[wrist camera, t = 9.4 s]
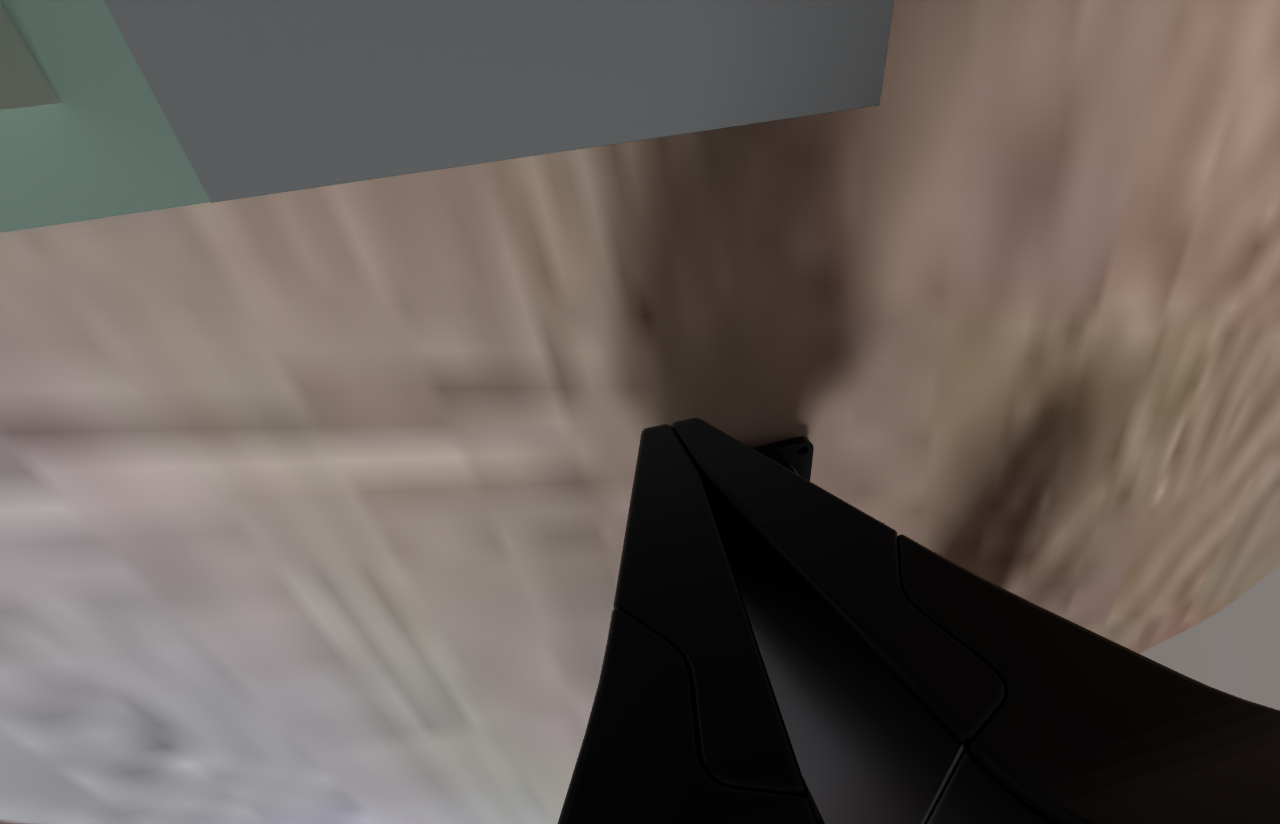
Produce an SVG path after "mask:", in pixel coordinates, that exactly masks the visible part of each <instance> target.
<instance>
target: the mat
mask: <svg viewBox="0 0 1280 824" xmlns="http://www.w3.org/2000/svg"><path fill="white" fill-rule="evenodd" d="M0 3H1V5H2V7H3V8H4V10H5V12H6V13H7V15H8V16H9V18H10V20H11V21H12V23H13V25H14V26H15V28H16V29H17V31H18V33H19V34H20V36H21V38H22V39H23V41H24V43H25V44H26V46H27V47H28V49H29V51H30V52H31V54H32V56H33V57H34V59H35V60H36V62H37V64H38V65H39V67H40V69H41V70H42V72H43V74H44V75H45V77H46V78H47V80H48V82H49V83H50V85H51V87H52V88H53V90H54V91H55V93H56V95H57V96H58V98H59V100H60V101H61V103H57V104H48V105H39V106H30V107H22V108H13V109H4V110H0V232H7V231H14V230H21V229H28V228H35V227H41V226H48V225H55V224H62V223H69V222H76V221H83V220H90V219H96V218H103V217H110V216H117V215H124V214H131V213H138V212H145V211H151V210H158V209H165V208H172V207H179V206H186V205H193V204H200V203H206V202H210V200H209V198H208V196H207V194H206V192H205V190H204V188H203V186H202V185H201V183H200V181H199V179H198V177H197V175H196V173H195V171H194V170H193V168H192V166H191V164H190V162H189V160H188V158H187V156H186V154H185V153H184V151H183V149H182V147H181V145H180V143H179V141H178V139H177V137H176V136H175V134H174V132H173V130H172V128H171V126H170V124H169V122H168V120H167V119H166V117H165V115H164V113H163V111H162V109H161V107H160V105H159V103H158V102H157V100H156V98H155V96H154V94H153V92H152V90H151V88H150V87H149V85H148V83H147V81H146V79H145V77H144V75H143V73H142V71H141V70H140V68H139V66H138V64H137V62H136V60H135V58H134V56H133V54H132V53H131V51H130V49H129V47H128V45H127V43H126V41H125V39H124V37H123V36H122V34H121V32H120V30H119V28H118V26H117V24H116V22H115V20H114V19H113V17H112V15H111V13H110V11H109V9H108V7H107V5H106V3H105V2H104V0H0Z"/></svg>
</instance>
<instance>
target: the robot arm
mask: <svg viewBox="0 0 1280 824" xmlns="http://www.w3.org/2000/svg"><path fill="white" fill-rule="evenodd" d="M803 446H804V447H803ZM801 447H803V448H802V449H800V448H801ZM799 449H800V450H799ZM812 457H813V445H812V443H811V442H810V441H809V440H808V439H807V438H806V437H798V438H794V439H789V440H785V441H781V442H776V443H772V444H768V445H763V446H759V447H754V448H750V447H748V446H747V445H745V444H743V443H741V442H740V441H738V440H736V439H734V438H733V437H731V436H729V435H727V434H726V433H724V432H722V431H720V430H719V429H717V428H715V427H713V426H712V425H710V424H708V423H706V422H705V421H703V420H701V419H699V418H692V419H687V420H683V421H678V422H674V423H673V424H672V425H671V426H670V425H667V424H664V425H660V426H655V427H650V428H646V429H644V430H643V431H642V434H641V440H640V446H639V452H638V458H637V464H636V470H635V477H634V483H633V489H632V495H631V501H630V508H629V514H628V520H627V526H626V532H625V538H624V545H623V551H622V557H621V563H620V569H619V575H618V582H617V588H616V594H615V600H614V610H613V611H612V616H611V622H610V628H609V634H608V640H607V645H606V650H605V655H604V660H603V665H602V670H601V675H600V680H599V684H598V688H597V692H596V696H595V699H594V703H593V707H592V710H591V714H590V718H589V722H588V725H587V729H586V733H585V736H584V739H583V743H582V746H581V749H580V753H579V756H578V759H577V762H576V766H575V769H574V772H573V775H572V779H571V782H570V785H569V788H568V792H567V795H566V798H565V801H564V805H563V808H562V811H561V815H560V818H559V821H558V824H1280V711H1279V710H1275V709H1273V708H1269V707H1266V706H1263V705H1260V704H1256V703H1253V702H1250V701H1247V700H1244V699H1241V698H1238V697H1236V696H1233V695H1230V694H1228V693H1225V692H1223V691H1220V690H1217V689H1215V688H1212V687H1210V686H1207V685H1205V684H1203V683H1201V682H1198V681H1196V680H1194V679H1191V678H1189V677H1187V676H1185V675H1183V674H1180V673H1178V672H1176V671H1174V670H1172V669H1170V668H1168V667H1166V666H1163V665H1161V664H1159V663H1157V662H1155V661H1153V660H1151V659H1149V658H1147V657H1145V656H1142V655H1140V654H1138V653H1136V652H1134V651H1132V650H1130V649H1128V648H1126V647H1124V646H1121V645H1119V644H1117V643H1115V642H1113V641H1111V640H1109V639H1107V638H1105V637H1103V636H1100V635H1098V634H1096V633H1094V632H1092V631H1090V630H1088V629H1086V628H1084V627H1081V626H1079V625H1077V624H1075V623H1073V622H1071V621H1069V620H1067V619H1065V618H1063V617H1060V616H1058V615H1056V614H1054V613H1052V612H1050V611H1048V610H1046V609H1044V608H1042V607H1039V606H1037V605H1035V604H1033V603H1031V602H1029V601H1027V600H1025V599H1023V598H1021V597H1019V596H1017V595H1015V594H1013V593H1011V592H1009V591H1007V590H1005V589H1003V588H1001V587H999V586H997V585H995V584H993V583H991V582H989V581H987V580H985V579H983V578H981V577H979V576H977V575H975V574H973V573H971V572H970V571H968V570H966V569H964V568H962V567H960V566H958V565H957V564H955V563H953V562H951V561H949V560H947V559H946V558H944V557H942V556H940V555H938V554H936V553H935V552H933V551H931V550H929V549H927V548H926V547H924V546H922V545H920V544H919V543H917V542H915V541H913V540H912V539H910V538H908V537H906V536H905V535H899V536H898V537H897V532H896V531H895V530H894V529H892V528H890V527H888V526H887V525H885V524H884V523H881V522H880V521H878V520H876V519H874V518H873V517H871V516H869V515H867V514H866V513H864V512H862V511H860V510H859V509H857V508H855V507H853V506H852V505H850V504H848V503H846V502H845V501H843V500H841V499H839V498H838V497H836V496H834V495H832V494H831V493H829V492H827V491H825V490H824V489H822V488H820V487H818V486H817V485H815V484H813V483H811V482H810V476H811V467H812Z"/></svg>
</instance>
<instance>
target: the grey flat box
mask: <svg viewBox="0 0 1280 824" xmlns="http://www.w3.org/2000/svg"><path fill="white" fill-rule="evenodd" d="M893 1H894V0H104V2H105V3H106V5H107V7H108V9H109V11H110V13H111V15H112V17H113V19H114V20H115V22H116V24H117V26H118V28H119V30H120V32H121V34H122V36H123V37H124V39H125V41H126V43H127V45H128V47H129V49H130V51H131V53H132V54H133V56H134V58H135V60H136V62H137V64H138V66H139V68H140V70H141V71H142V73H143V75H144V77H145V79H146V81H147V83H148V85H149V87H150V88H151V90H152V92H153V94H154V96H155V98H156V100H157V102H158V103H159V105H160V107H161V109H162V111H163V113H164V115H165V117H166V119H167V120H168V122H169V124H170V126H171V128H172V130H173V132H174V134H175V136H176V137H177V139H178V141H179V143H180V145H181V147H182V149H183V151H184V153H185V154H186V156H187V158H188V160H189V162H190V164H191V166H192V168H193V170H194V171H195V173H196V175H197V177H198V179H199V181H200V183H201V185H202V186H203V188H204V190H205V192H206V194H207V196H208V198H209V200H210V202H211V203H212V202H219V201H226V200H232V199H239V198H246V197H253V196H260V195H267V194H274V193H281V192H287V191H294V190H301V189H308V188H315V187H322V186H329V185H335V184H342V183H349V182H356V181H363V180H370V179H377V178H383V177H390V176H397V175H404V174H411V173H418V172H425V171H432V170H438V169H445V168H452V167H459V166H466V165H473V164H480V163H486V162H493V161H500V160H507V159H514V158H521V157H528V156H535V155H541V154H548V153H555V152H562V151H569V150H576V149H583V148H589V147H596V146H603V145H610V144H617V143H624V142H631V141H637V140H644V139H651V138H658V137H665V136H672V135H679V134H686V133H692V132H699V131H706V130H713V129H720V128H727V127H734V126H740V125H747V124H754V123H761V122H768V121H775V120H782V119H788V118H795V117H802V116H809V115H816V114H823V113H830V112H837V111H843V110H850V109H857V108H864V107H871V106H878V105H879V104H880V97H881V90H882V82H883V75H884V67H885V60H886V53H887V45H888V38H889V30H890V23H891V16H892V8H893Z"/></svg>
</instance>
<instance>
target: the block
mask: <svg viewBox="0 0 1280 824" xmlns="http://www.w3.org/2000/svg"><path fill="white" fill-rule="evenodd" d="M57 103H61V101H60V100H59V98H58V96H57V95H56V93H55V91H54V90H53V88H52V87H51V85H50V83H49V82H48V80H47V78H46V77H45V75H44V74H43V72H42V70H41V69H40V67H39V65H38V64H37V62H36V60H35V59H34V57H33V56H32V54H31V52H30V51H29V49H28V47H27V46H26V44H25V43H24V41H23V39H22V38H21V36H20V34H19V33H18V31H17V29H16V28H15V26H14V25H13V23H12V21H11V20H10V18H9V16H8V15H7V13H6V12H5V10H4V8H3V7H2V5H1V3H0V110H4V109H13V108H22V107H30V106H39V105H48V104H57Z"/></svg>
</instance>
